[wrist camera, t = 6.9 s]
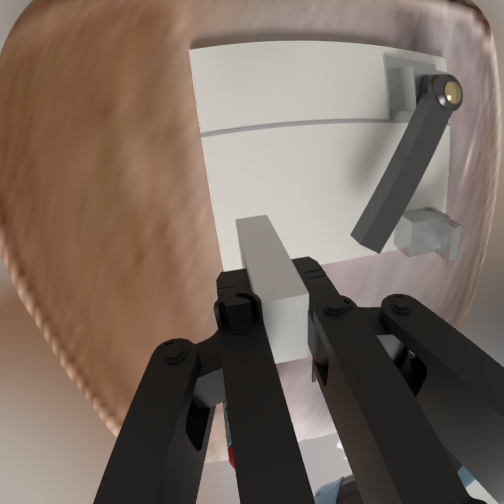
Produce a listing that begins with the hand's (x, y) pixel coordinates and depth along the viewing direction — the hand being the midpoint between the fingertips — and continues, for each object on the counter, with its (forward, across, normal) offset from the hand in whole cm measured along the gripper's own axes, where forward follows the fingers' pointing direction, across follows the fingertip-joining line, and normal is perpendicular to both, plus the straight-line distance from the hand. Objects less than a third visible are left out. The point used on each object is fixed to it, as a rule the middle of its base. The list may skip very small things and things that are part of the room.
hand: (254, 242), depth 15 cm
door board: (+11, +10, +2) cm, 15 cm away
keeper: (+10, +18, -6) cm, 21 cm away
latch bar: (+7, +14, +2) cm, 15 cm away
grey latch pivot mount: (+10, +17, +8) cm, 21 cm away
